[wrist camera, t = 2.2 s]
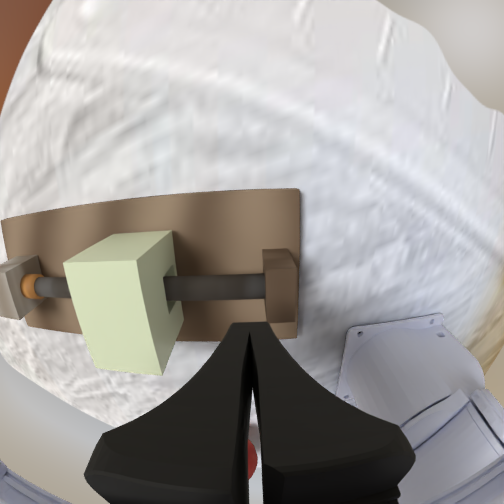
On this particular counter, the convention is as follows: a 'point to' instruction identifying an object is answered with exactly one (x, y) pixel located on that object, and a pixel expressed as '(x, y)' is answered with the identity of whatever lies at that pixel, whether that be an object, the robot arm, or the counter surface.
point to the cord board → (186, 257)
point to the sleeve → (126, 301)
